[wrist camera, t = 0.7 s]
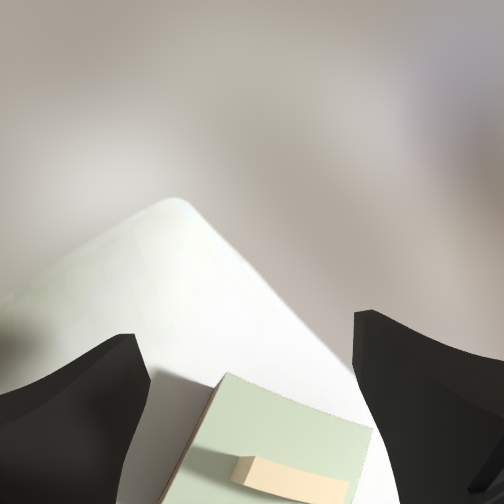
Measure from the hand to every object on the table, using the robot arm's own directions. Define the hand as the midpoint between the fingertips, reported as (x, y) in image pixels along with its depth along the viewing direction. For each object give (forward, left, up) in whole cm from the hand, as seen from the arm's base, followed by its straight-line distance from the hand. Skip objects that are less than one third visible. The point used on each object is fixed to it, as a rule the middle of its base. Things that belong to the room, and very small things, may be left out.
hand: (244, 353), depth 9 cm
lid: (-3, -7, -13) cm, 14 cm away
